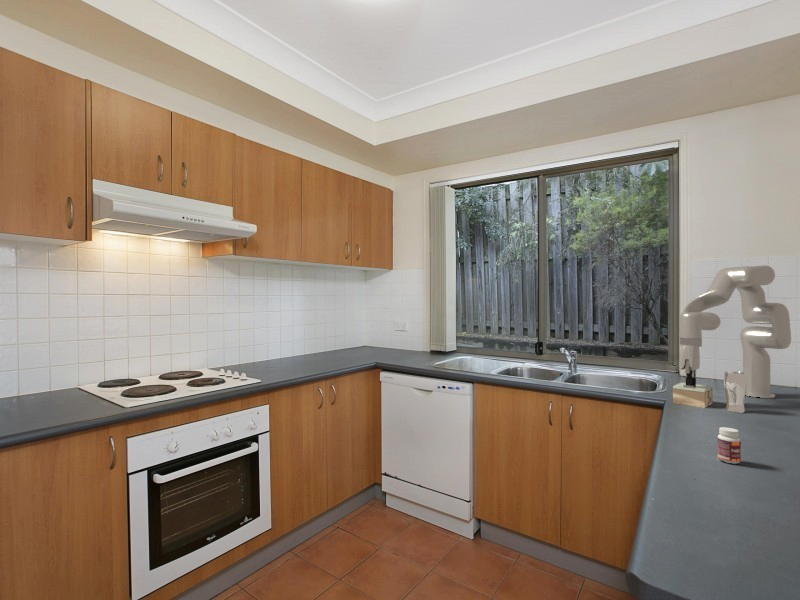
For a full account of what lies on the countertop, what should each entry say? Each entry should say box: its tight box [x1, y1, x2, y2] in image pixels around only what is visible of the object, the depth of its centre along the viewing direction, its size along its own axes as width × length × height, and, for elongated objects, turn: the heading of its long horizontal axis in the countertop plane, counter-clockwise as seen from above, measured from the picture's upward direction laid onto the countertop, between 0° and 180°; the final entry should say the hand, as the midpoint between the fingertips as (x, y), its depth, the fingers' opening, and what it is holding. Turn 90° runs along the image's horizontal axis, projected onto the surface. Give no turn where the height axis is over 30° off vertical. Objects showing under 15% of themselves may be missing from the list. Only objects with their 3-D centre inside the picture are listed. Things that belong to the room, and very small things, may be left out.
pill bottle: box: [717, 426, 742, 462], centre depth 109 cm, size 5×5×8 cm
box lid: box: [672, 382, 714, 392], centre depth 175 cm, size 12×11×2 cm
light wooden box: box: [672, 387, 714, 409], centre depth 175 cm, size 12×11×6 cm
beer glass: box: [723, 370, 747, 414], centre depth 162 cm, size 7×7×15 cm
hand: (690, 386), depth 173 cm, fingers closed
